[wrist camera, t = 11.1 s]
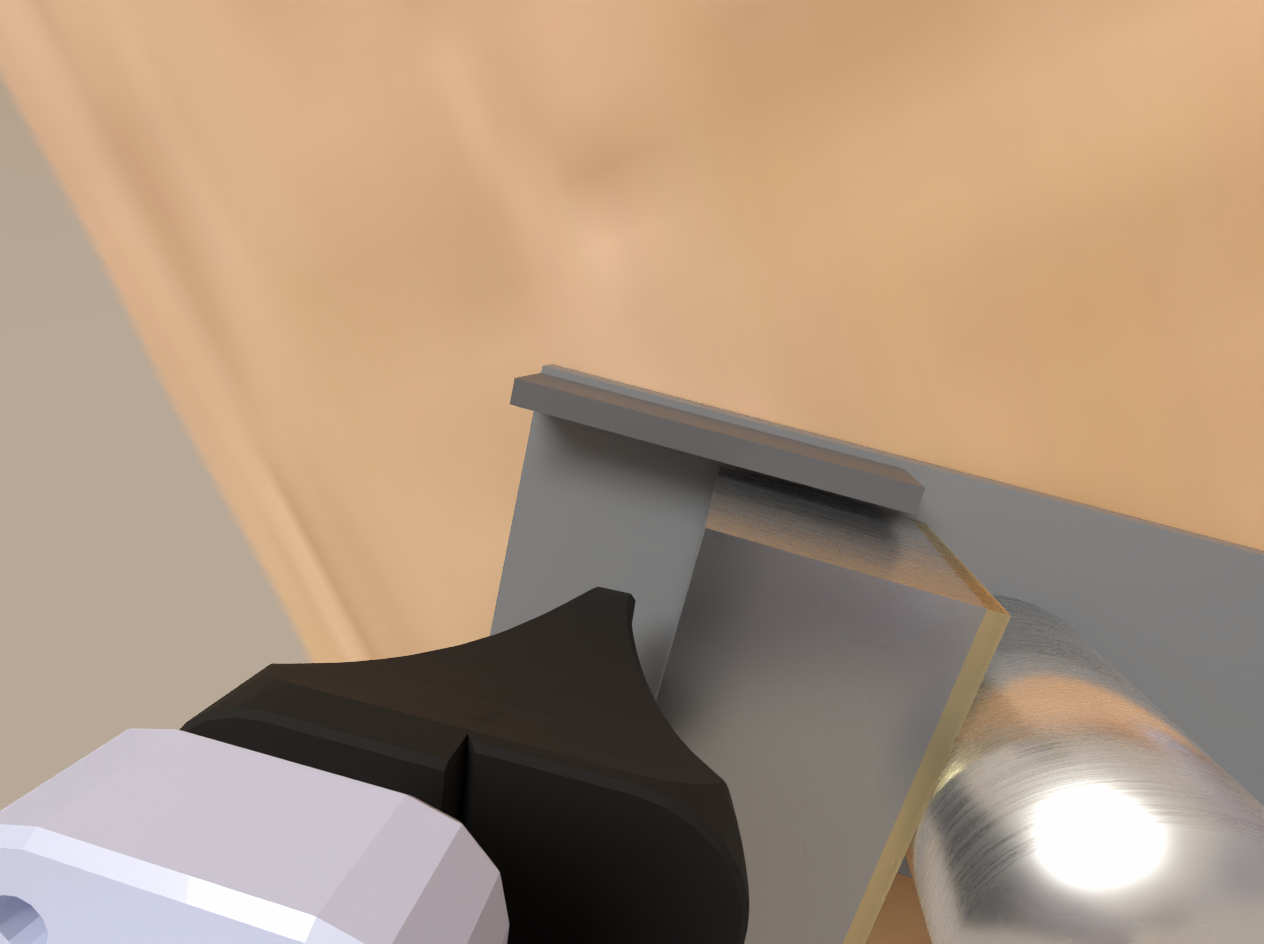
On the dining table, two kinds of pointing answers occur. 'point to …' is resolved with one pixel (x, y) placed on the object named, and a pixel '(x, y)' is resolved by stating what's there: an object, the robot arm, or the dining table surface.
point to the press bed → (943, 498)
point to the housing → (1082, 812)
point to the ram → (823, 692)
